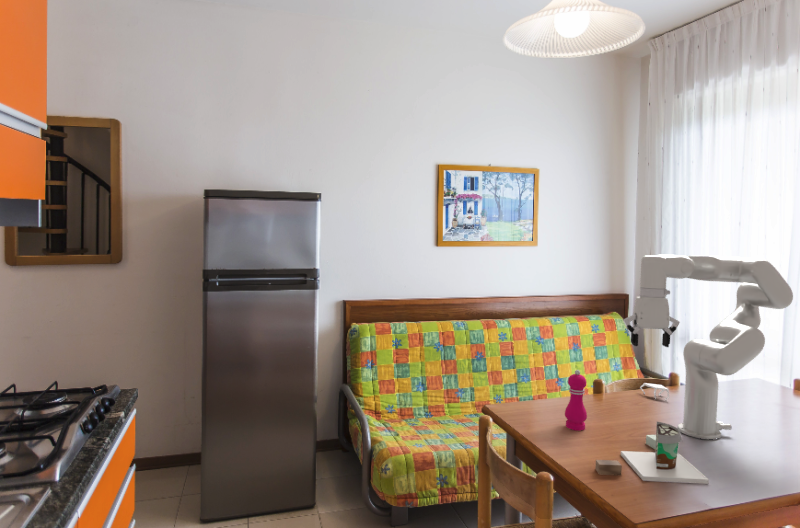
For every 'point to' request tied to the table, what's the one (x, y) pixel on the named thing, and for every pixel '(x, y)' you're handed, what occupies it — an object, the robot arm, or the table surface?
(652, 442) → the sage block
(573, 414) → the pepper mill
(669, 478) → the platter
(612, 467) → the walnut block
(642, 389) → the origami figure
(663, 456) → the food container
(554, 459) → the table surface
